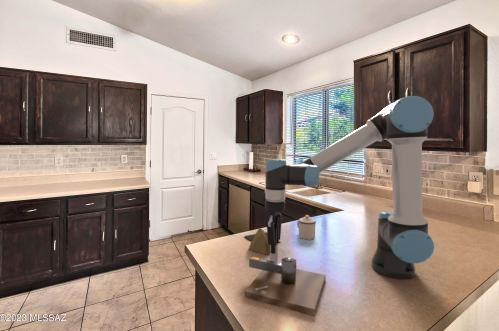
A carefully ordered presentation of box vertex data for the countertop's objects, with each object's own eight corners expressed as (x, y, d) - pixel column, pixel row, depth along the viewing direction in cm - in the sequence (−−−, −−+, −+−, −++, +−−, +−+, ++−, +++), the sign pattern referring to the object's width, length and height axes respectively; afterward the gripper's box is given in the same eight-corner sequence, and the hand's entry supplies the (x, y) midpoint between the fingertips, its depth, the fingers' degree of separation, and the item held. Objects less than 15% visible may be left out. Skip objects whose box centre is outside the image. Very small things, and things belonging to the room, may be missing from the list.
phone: (274, 235, 140) (250, 240, 132) (274, 237, 140) (250, 242, 132) (266, 231, 146) (243, 236, 139) (266, 233, 146) (243, 237, 139)
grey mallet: (297, 278, 91) (297, 257, 90) (293, 285, 86) (294, 262, 86) (252, 268, 98) (253, 248, 97) (247, 274, 93) (247, 253, 93)
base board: (325, 280, 94) (325, 274, 94) (314, 316, 74) (314, 308, 74) (268, 268, 103) (268, 263, 103) (244, 297, 83) (244, 290, 83)
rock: (278, 249, 117) (269, 238, 126) (269, 236, 114) (260, 226, 123) (259, 265, 115) (252, 253, 124) (249, 252, 112) (242, 241, 121)
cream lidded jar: (319, 237, 139) (319, 216, 138) (306, 240, 134) (307, 218, 133) (303, 231, 149) (303, 211, 148) (291, 234, 144) (291, 213, 143)
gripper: (271, 196, 106) (270, 252, 107) (259, 202, 94) (258, 265, 96) (289, 197, 103) (288, 255, 104) (279, 204, 91) (278, 269, 92)
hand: (273, 260), depth 100 cm, fingers closed
